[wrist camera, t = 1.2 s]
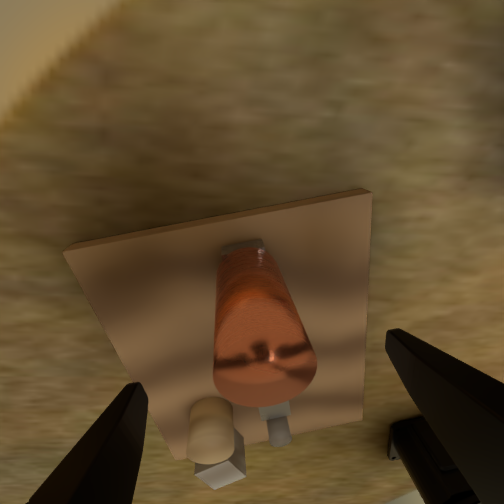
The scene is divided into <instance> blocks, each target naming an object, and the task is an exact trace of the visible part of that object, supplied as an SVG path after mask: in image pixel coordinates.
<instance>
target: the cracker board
mask: <svg viewBox="0 0 504 504" xmlns="http://www.w3.org/2000/svg"><path fill="white" fill-rule="evenodd" d="M371 214H372V192H370V191H367V190H365V189H363V188H362V189H356V190H351V191H346V192H341V193H335V194H330V195H325V196H320V197H315V198H309V199H304V200H299V201H294V202H288V203H283V204H278V205H273V206H267V207H262V208H257V209H252V210H246V211H241V212H236V213H231V214H226V215H220V216H215V217H210V218H205V219H199V220H194V221H189V222H184V223H178V224H173V225H168V226H163V227H158V228H152V229H147V230H142V231H137V232H131V233H126V234H121V235H116V236H110V237H105V238H100V239H95V240H90V241H84V242H79V243H74V244H72V245H71V246H69V247H68V248H67V249H65V250H64V251H63V252H62V253H63V255H64V257H65V259H66V261H67V263H68V264H69V266H70V268H71V270H72V272H73V273H74V275H75V277H76V279H77V281H78V283H79V284H80V286H81V288H82V290H83V292H84V294H85V295H86V297H87V299H88V301H89V303H90V305H91V306H92V308H93V310H94V312H95V314H96V315H97V317H98V319H99V321H100V323H101V325H102V326H103V328H104V330H105V332H106V334H107V336H108V337H109V339H110V341H111V343H112V345H113V347H114V348H115V350H116V352H117V354H118V356H119V358H120V359H121V361H122V363H123V365H124V367H125V368H126V370H127V372H128V374H129V376H130V378H131V379H132V381H133V382H140V383H141V384H142V386H143V388H144V390H145V392H146V394H147V396H148V401H149V403H148V411H149V412H150V414H151V416H152V418H153V420H154V421H155V423H156V425H157V427H158V429H159V431H160V432H161V434H162V436H163V438H164V440H165V442H166V443H167V445H168V447H169V449H170V451H171V453H172V454H173V456H174V458H175V460H180V459H185V458H188V457H187V454H186V449H187V440H188V431H189V422H190V413H191V408H192V406H193V405H194V404H195V403H196V402H197V401H199V400H201V399H204V398H207V397H220V398H223V399H226V398H225V397H223V396H222V395H221V394H220V393H219V392H218V390H217V389H216V387H215V384H214V381H213V354H214V326H215V298H216V274H217V269H218V266H219V264H220V263H221V261H222V256H221V247H222V246H227V245H232V244H237V243H242V242H248V241H253V240H258V239H262V241H263V243H264V246H265V251H266V252H268V253H269V254H270V255H271V256H272V257H273V258H274V259H275V260H276V262H277V264H278V267H279V269H280V271H281V274H282V276H283V278H284V281H285V283H286V286H287V288H288V290H289V293H290V295H291V297H292V300H293V302H294V305H295V307H296V309H297V312H298V314H299V316H300V319H301V321H302V323H303V326H304V328H305V331H306V333H307V335H308V338H309V340H310V342H311V345H312V347H313V350H314V352H315V354H316V357H317V371H316V374H315V376H314V378H313V380H312V382H311V383H310V384H309V386H308V387H307V388H306V389H305V390H304V391H302V392H301V393H300V394H299V395H297V396H296V397H294V398H292V399H290V400H289V405H290V411H291V415H288V416H284V417H279V418H274V419H270V420H265V421H261V417H260V412H259V408H258V407H247V406H242V405H239V404H236V403H233V402H231V401H229V400H227V399H226V400H227V401H229V402H230V403H231V405H232V407H233V426H234V452H233V454H232V455H231V456H230V457H229V458H228V459H226V460H224V461H222V462H219V463H215V464H199V463H196V462H195V474H194V475H196V476H197V477H198V478H200V479H201V480H202V481H203V482H205V483H206V484H207V485H209V486H210V487H211V488H213V489H214V490H215V489H218V488H220V487H222V486H225V485H227V484H230V483H232V482H235V481H237V480H240V479H242V478H244V477H246V464H245V450H244V446H245V445H250V444H254V443H259V442H263V441H268V440H269V442H270V444H271V445H272V446H274V447H282V446H285V445H287V444H289V443H290V442H291V440H292V437H291V435H296V434H300V433H305V432H310V431H314V430H319V429H324V428H328V427H333V426H338V425H342V424H347V423H351V422H356V421H361V420H363V397H364V374H365V351H366V328H367V306H368V283H369V260H370V237H371Z"/></svg>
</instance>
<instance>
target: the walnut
mask: <svg viewBox="0 0 504 504" xmlns="http://www.w3.org/2000/svg"><path fill="white" fill-rule="evenodd" d="M233 452H234V426H233V407H232V405H231V403H230V402H229V401H227V400H226V399H223V398H220V397H207V398H204V399H201V400H199V401H197V402H196V403H195V404H194V405H193V406H192V408H191V413H190V422H189V431H188V440H187V449H186V454H187V457H188V458H189V459H190V460H191V461H193V462H196V463H199V464H215V463H219V462H222V461H224V460H226V459H228V458H229V457H230V456H231V455H232V454H233Z"/></svg>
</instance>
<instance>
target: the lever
mask: <svg viewBox="0 0 504 504" xmlns="http://www.w3.org/2000/svg"><path fill="white" fill-rule="evenodd" d="M221 256H222V261H221V263H220V264H219V266H218V269H217V274H216V298H215V326H214V354H213V381H214V384H215V387H216V389H217V390H218V392H219V393H220V394H221V395H222V396H223V397H225V398H226V399H227V400H229V401H231V402H233V403H236V404H239V405H242V406H247V407H258V408H259V412H260V417H261V421H265V420H270V419H274V418H279V417H284V416H288V415H291V411H290V405H289V400H290V399H292V398H294V397H296V396H297V395H299V394H300V393H301V392H302V391H304V390H305V389H306V388H307V387H308V386H309V384H310V383H311V382H312V380H313V378H314V376H315V374H316V371H317V357H316V354H315V352H314V350H313V347H312V345H311V342H310V340H309V338H308V335H307V333H306V331H305V328H304V326H303V323H302V321H301V319H300V316H299V314H298V312H297V309H296V307H295V305H294V302H293V300H292V297H291V295H290V293H289V290H288V288H287V286H286V283H285V281H284V278H283V276H282V274H281V271H280V269H279V267H278V264H277V262H276V260H275V259H274V258H273V257H272V256H271V255H270V254H269V253H268V252H266V251H265V246H264V243H263V241H262V239H258V240H253V241H248V242H242V243H237V244H232V245H227V246H222V247H221Z"/></svg>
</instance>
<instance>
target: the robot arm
mask: <svg viewBox="0 0 504 504" xmlns="http://www.w3.org/2000/svg"><path fill="white" fill-rule="evenodd" d="M385 349H386V352H387V354H388V356H389V358H390V360H391V362H392V363H393V365H394V367H395V369H396V371H397V373H398V375H399V377H400V378H401V380H402V382H403V384H404V386H405V388H406V389H407V391H408V393H409V395H410V396H411V398H412V399H413V401H414V402H415V404H416V405H417V407H418V408H419V410H420V411H421V413H422V414H423V416H424V417H423V418H418V419H414V420H409V421H405V422H400V423H396V424H393V425H392V426H391V430H390V438H389V446H388V454H387V456H388V458H389V460H391V461H393V460H398V459H401V460H402V462H403V464H404V466H405V468H406V470H407V471H408V473H409V475H410V477H411V479H412V480H413V482H414V484H415V486H416V488H417V490H418V491H419V493H420V495H421V497H422V498H423V500H424V502H425V504H504V383H502V382H500V381H498V380H496V379H494V378H492V377H491V376H489V375H487V374H485V373H483V372H481V371H479V370H477V369H475V368H473V367H472V366H470V365H468V364H466V363H464V362H462V361H460V360H458V359H456V358H455V357H453V356H451V355H449V354H447V353H445V352H443V351H441V350H439V349H438V348H436V347H434V346H432V345H430V344H428V343H426V342H424V341H422V340H421V339H419V338H417V337H415V336H413V335H411V334H409V333H407V332H405V331H404V330H402V329H399V328H396V329H391V330H388V331H387V333H386V343H385ZM148 403H149V401H148V396H147V394H146V392H145V390H144V388H143V386H142V384H141V383H140V382H133V383H129V384H127V385H126V386H125V387H124V388H123V389H122V391H121V392H120V393H119V394H118V395H117V396H116V398H115V399H114V400H113V401H112V402H111V404H110V405H109V406H108V407H107V408H106V409H105V411H104V412H103V413H102V414H101V415H100V417H99V418H98V419H97V420H96V421H95V422H94V424H93V425H92V426H91V427H90V428H89V429H88V431H87V432H86V433H85V434H84V435H83V437H82V438H81V439H80V440H79V441H78V442H77V444H76V445H75V446H74V447H73V448H72V450H71V451H70V452H69V453H68V454H67V455H66V457H65V458H64V459H63V460H62V461H61V462H60V464H59V465H58V466H57V467H56V468H55V470H54V471H53V472H52V473H51V474H50V475H49V477H48V478H47V479H46V480H45V481H44V483H43V484H42V485H41V486H40V487H39V488H38V490H37V491H36V492H35V493H34V494H33V495H32V497H31V498H30V499H29V502H27V503H26V504H132V500H133V495H134V490H135V486H136V481H137V476H138V472H139V467H140V462H141V458H142V452H143V446H144V438H145V429H146V420H147V412H148Z"/></svg>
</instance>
